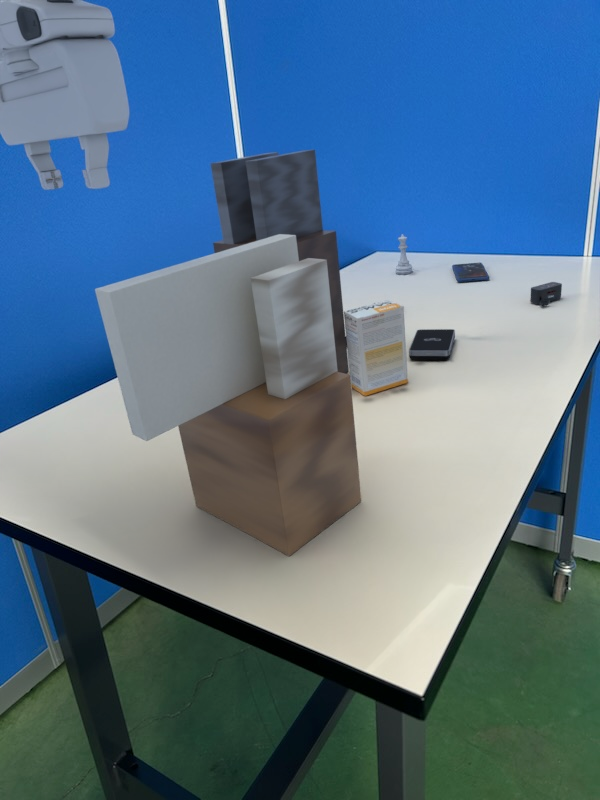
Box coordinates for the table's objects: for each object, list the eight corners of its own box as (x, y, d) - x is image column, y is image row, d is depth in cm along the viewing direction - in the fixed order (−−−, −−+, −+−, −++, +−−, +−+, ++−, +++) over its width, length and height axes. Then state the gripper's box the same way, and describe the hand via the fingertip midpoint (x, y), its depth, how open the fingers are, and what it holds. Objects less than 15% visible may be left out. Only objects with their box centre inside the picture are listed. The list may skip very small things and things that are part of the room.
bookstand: (301, 398, 100) (270, 159, 85) (236, 378, 110) (199, 163, 95) (348, 372, 107) (328, 148, 92) (283, 356, 118) (256, 153, 103)
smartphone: (457, 279, 148) (451, 264, 162) (457, 282, 149) (451, 267, 162) (490, 276, 147) (482, 262, 160) (490, 280, 147) (482, 265, 161)
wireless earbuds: (525, 304, 129) (526, 288, 128) (552, 296, 131) (553, 281, 130) (542, 308, 125) (543, 293, 124) (569, 301, 127) (570, 285, 126)
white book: (146, 441, 57) (109, 291, 51) (132, 434, 58) (94, 289, 52) (310, 360, 70) (296, 234, 64) (295, 356, 72) (279, 233, 66)
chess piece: (414, 270, 165) (412, 232, 160) (410, 274, 161) (409, 235, 157) (397, 270, 166) (395, 232, 162) (394, 275, 163) (391, 236, 158)
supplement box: (393, 374, 104) (388, 298, 98) (408, 383, 100) (405, 305, 94) (349, 387, 101) (342, 310, 96) (363, 397, 97) (357, 317, 92)
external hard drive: (455, 339, 115) (455, 329, 114) (449, 362, 106) (449, 351, 105) (417, 339, 118) (417, 329, 117) (408, 361, 108) (408, 351, 107)
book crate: (289, 556, 64) (248, 294, 53) (195, 506, 75) (144, 278, 63) (361, 501, 72) (340, 260, 60) (267, 462, 82) (233, 251, 71)
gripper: (-42, 48, 61) (2, 194, 67) (52, 6, 48) (97, 193, 54) (19, 47, 65) (56, 184, 71) (122, 7, 52) (158, 181, 58)
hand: (75, 188), depth 62 cm, fingers open, 8 cm apart
